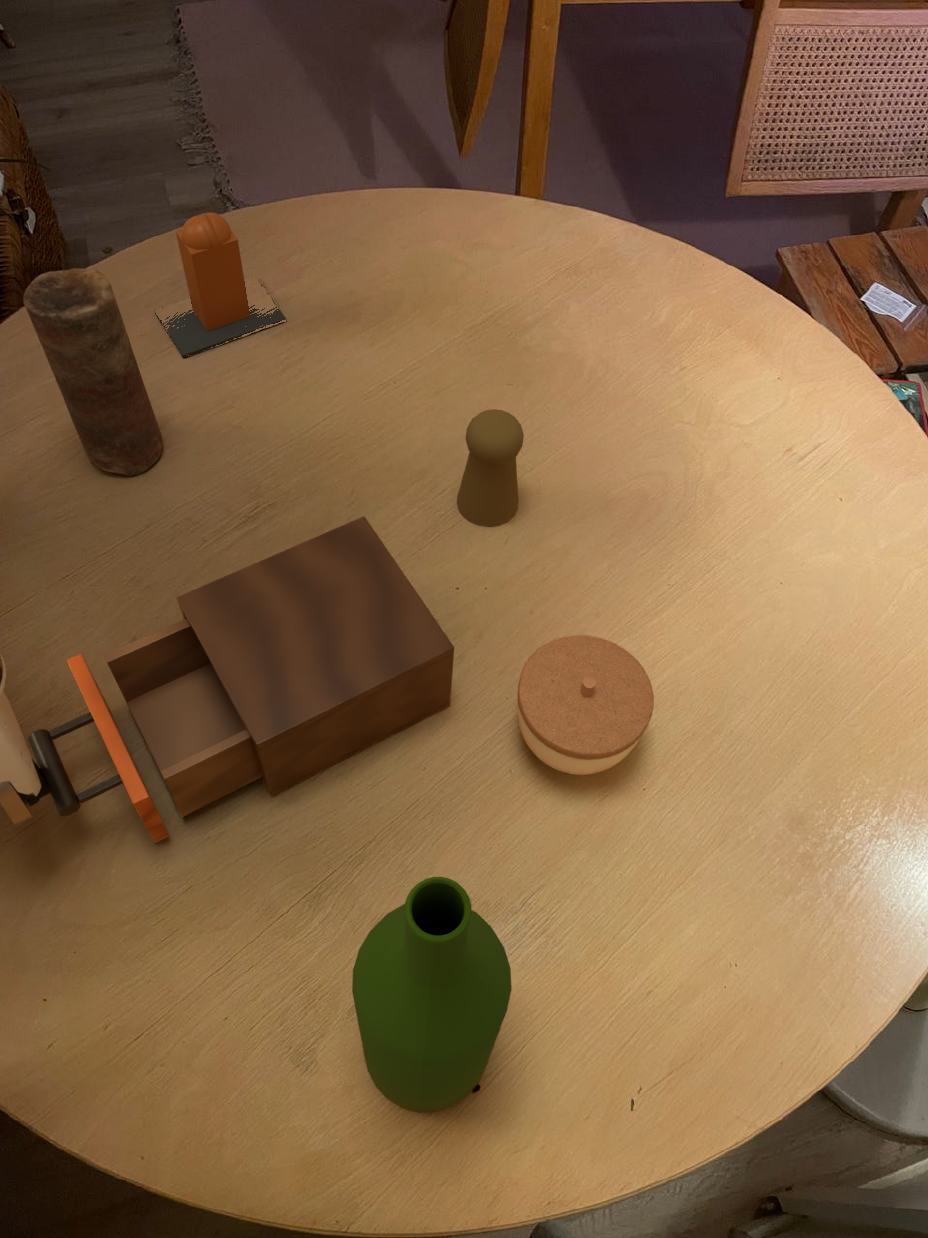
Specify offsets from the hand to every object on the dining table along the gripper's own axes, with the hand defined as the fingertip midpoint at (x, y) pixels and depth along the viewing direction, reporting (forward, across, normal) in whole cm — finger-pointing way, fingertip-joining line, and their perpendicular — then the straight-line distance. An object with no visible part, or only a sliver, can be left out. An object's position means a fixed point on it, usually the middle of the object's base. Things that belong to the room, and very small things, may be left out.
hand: (27, 793), depth 78 cm
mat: (+5, -46, +35) cm, 58 cm away
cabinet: (+5, 0, +24) cm, 25 cm away
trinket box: (+5, +15, +40) cm, 43 cm away
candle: (+5, -33, +19) cm, 39 cm away
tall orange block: (+4, -46, +35) cm, 58 cm away
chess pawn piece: (+5, -10, +47) cm, 49 cm away
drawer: (+4, 0, +12) cm, 13 cm away
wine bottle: (+5, +30, +18) cm, 35 cm away
